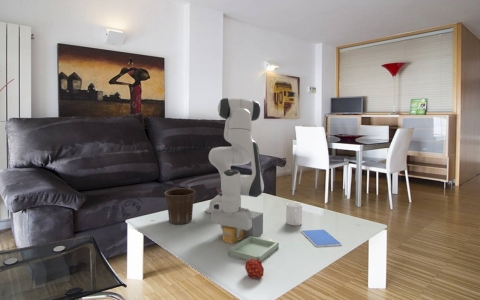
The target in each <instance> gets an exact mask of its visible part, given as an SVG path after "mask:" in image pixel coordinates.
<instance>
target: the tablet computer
mask: <svg viewBox="0 0 480 300" xmlns="http://www.w3.org/2000/svg"><path fill="white" fill-rule="evenodd" d="M301 233H302V234H303V236H304V237H306V239H308V241H309V242H310V243H311V244H312V245H313V246H314V247H316V248H325V247H326V248H327V247H341V246H343V244H342V243H341V242H340V241H339V240H338V239H337V238H336V237H334V236H333V235H332V234H331V233H329V232H328V231H327V230H326V229H312V230H311V229H310V230H309V229H308V230H301Z"/></svg>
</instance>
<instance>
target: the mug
mask: <svg viewBox="0 0 480 300" xmlns="http://www.w3.org/2000/svg"><path fill="white" fill-rule="evenodd" d="M285 204H286V205H285V206H286V208H285V209H286V211H285V212H286V214H285V222H286V224H287V225H289V226H297V227H298V226H301V225H302V224H303V204H302V203H299V202H295V201H293V202H287V203H285Z"/></svg>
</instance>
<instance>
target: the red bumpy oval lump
mask: <svg viewBox="0 0 480 300" xmlns="http://www.w3.org/2000/svg"><path fill="white" fill-rule="evenodd" d="M244 268H245V271H246V273H247V276H248V277H250V278H252V279H257V278H258V279H259V278H262V277H263V276H264V270H265V269H264V266H263V264H262V262H260V260H255V259H250V260H248V261H246V260H245V266H244Z"/></svg>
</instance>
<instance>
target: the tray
mask: <svg viewBox="0 0 480 300" xmlns="http://www.w3.org/2000/svg"><path fill="white" fill-rule="evenodd" d="M279 248H280V247H279V242H278V241H275V240H274V241H273V240H269V239H266V238H261V237H252V236H249V237H248V238H244V239H243V240H242V241H240V242H238V243H237V244H234V246H232V247H230V248H229V249H228V250H227V256H228V257H231V258H236V259H239V260H242V261H246V260H247V261H248V260H250V259H255V260H260V262H261V261H262V262H263V261H264V260H265V258H266V257H267V258H268V257H269V256H271V255H272V254H273V253H274V252H276V250H278V249H279ZM267 258H266V259H267ZM262 262H261V263H262Z"/></svg>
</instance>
